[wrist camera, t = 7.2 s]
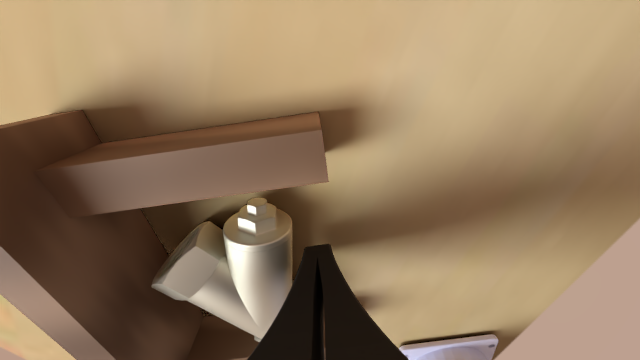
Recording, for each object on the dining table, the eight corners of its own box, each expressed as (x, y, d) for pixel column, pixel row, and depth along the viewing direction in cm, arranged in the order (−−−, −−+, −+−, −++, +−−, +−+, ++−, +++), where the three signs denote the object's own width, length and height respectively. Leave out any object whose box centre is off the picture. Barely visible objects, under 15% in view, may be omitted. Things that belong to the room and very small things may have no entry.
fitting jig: (347, 327, 18) (359, 414, 14) (201, 346, 18) (167, 437, 14) (313, 75, 10) (318, 89, 5) (47, 115, 10) (-157, 159, 6)
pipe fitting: (253, 170, 12) (175, 245, 14) (238, 208, 9) (136, 303, 10) (347, 251, 15) (276, 305, 17) (364, 303, 12) (271, 367, 13)
